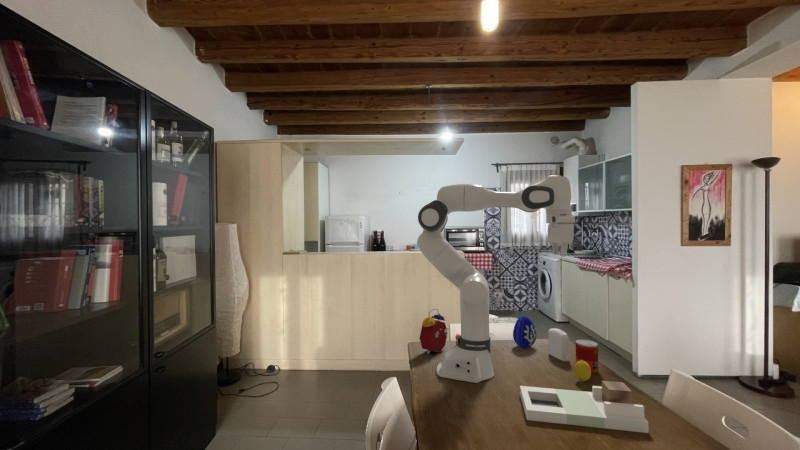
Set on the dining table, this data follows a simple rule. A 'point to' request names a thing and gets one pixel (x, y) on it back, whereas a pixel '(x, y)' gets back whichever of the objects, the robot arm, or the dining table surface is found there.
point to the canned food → (587, 353)
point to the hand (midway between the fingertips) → (559, 255)
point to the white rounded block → (558, 344)
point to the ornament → (524, 332)
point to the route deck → (581, 409)
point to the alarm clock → (433, 333)
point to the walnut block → (616, 392)
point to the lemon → (582, 370)
